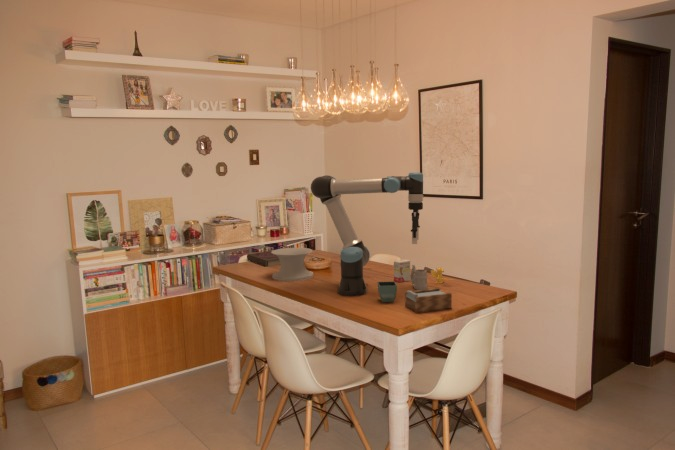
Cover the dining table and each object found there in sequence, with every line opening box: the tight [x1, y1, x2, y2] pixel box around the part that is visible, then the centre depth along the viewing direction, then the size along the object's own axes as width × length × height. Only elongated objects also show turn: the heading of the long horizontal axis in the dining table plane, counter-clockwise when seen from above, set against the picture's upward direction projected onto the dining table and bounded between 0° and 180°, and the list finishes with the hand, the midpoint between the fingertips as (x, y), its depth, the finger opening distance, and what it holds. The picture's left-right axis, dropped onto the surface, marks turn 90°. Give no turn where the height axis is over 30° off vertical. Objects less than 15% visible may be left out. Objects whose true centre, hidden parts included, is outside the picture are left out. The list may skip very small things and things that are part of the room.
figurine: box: [430, 266, 454, 284], centre depth 300 cm, size 12×12×9 cm
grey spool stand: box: [271, 247, 314, 282], centre depth 326 cm, size 25×25×16 cm
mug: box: [410, 264, 429, 291], centre depth 291 cm, size 8×12×12 cm, turn 31°
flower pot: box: [376, 281, 398, 303], centre depth 266 cm, size 9×9×9 cm
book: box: [246, 250, 281, 268], centre depth 376 cm, size 30×22×5 cm
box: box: [404, 287, 453, 314], centre depth 253 cm, size 18×12×7 cm, turn 108°
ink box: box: [393, 258, 411, 283], centre depth 307 cm, size 9×5×12 cm, turn 120°
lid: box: [406, 289, 446, 302], centre depth 253 cm, size 18×10×3 cm, turn 108°
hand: (415, 241), depth 286 cm, fingers open, 13 cm apart
